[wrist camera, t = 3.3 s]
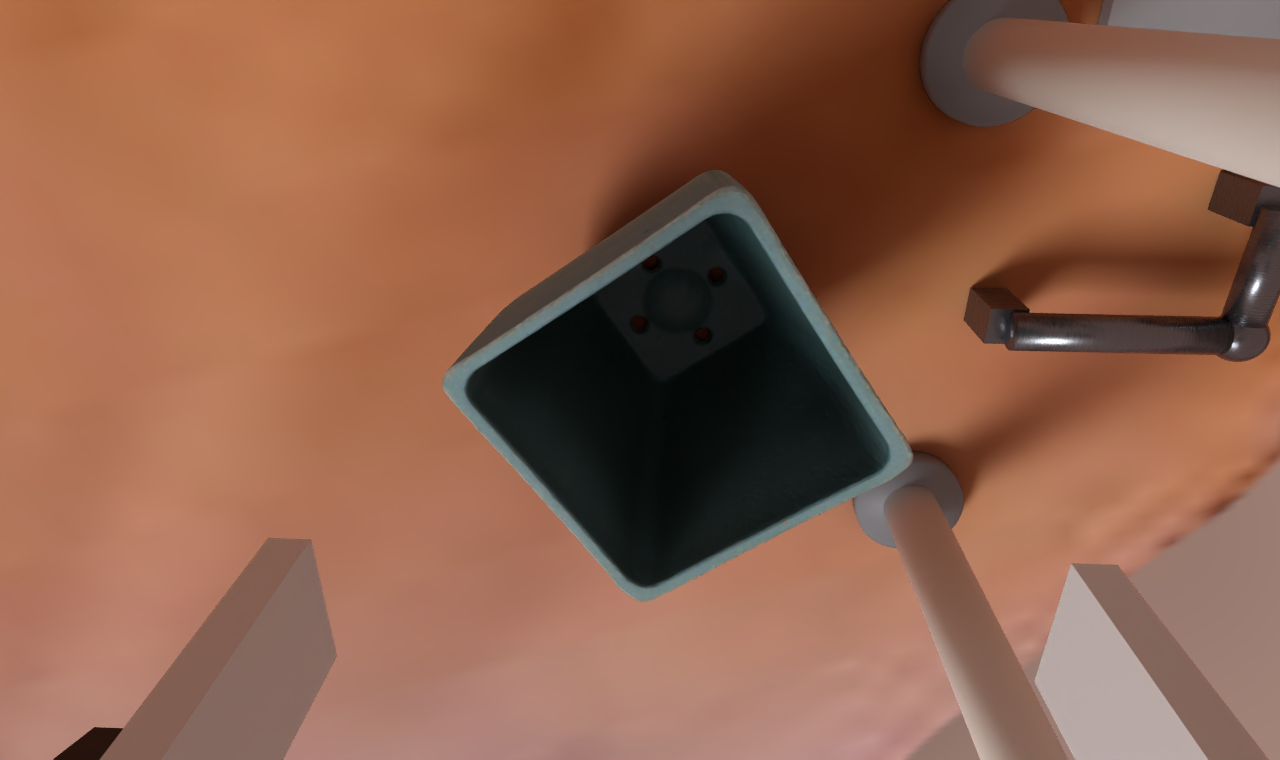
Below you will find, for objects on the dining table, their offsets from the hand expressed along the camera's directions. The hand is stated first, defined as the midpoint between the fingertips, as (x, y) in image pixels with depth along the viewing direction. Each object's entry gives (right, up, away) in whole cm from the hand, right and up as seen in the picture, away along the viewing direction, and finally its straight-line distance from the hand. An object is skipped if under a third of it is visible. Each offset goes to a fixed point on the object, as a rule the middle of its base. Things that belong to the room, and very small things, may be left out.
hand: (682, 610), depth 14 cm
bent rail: (+15, +8, +12) cm, 21 cm away
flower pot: (+1, +7, +14) cm, 15 cm away
